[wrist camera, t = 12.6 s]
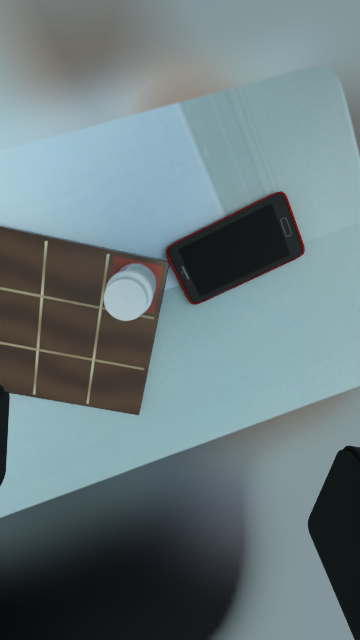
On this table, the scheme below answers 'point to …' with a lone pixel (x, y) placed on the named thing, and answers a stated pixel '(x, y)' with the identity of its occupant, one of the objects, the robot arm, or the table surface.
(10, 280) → the grid board
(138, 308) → the pill bottle
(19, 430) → the table surface
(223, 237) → the cell phone
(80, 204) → the table surface
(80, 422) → the table surface
